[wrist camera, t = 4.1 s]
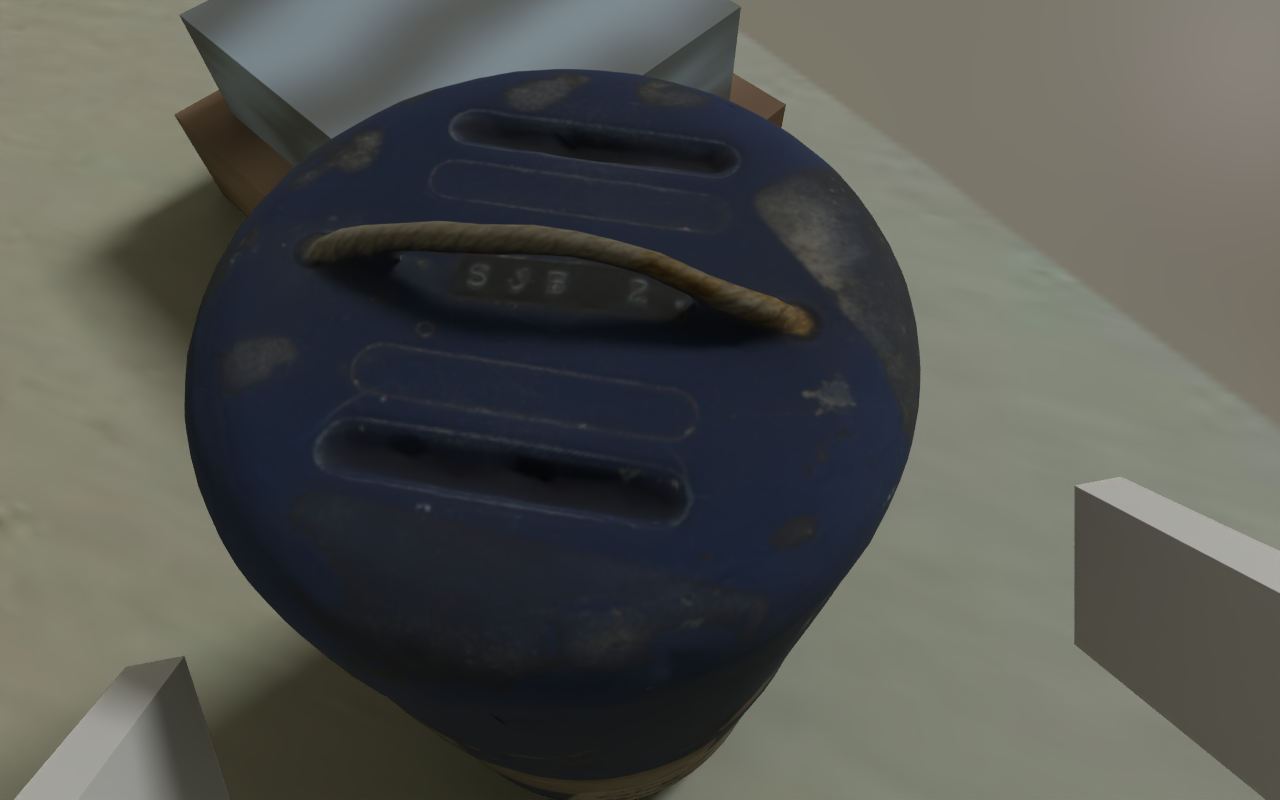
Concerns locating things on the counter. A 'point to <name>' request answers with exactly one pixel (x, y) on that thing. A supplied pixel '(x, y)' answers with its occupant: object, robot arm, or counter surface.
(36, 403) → the counter surface
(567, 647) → the canister
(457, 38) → the metal-topped wooden base
